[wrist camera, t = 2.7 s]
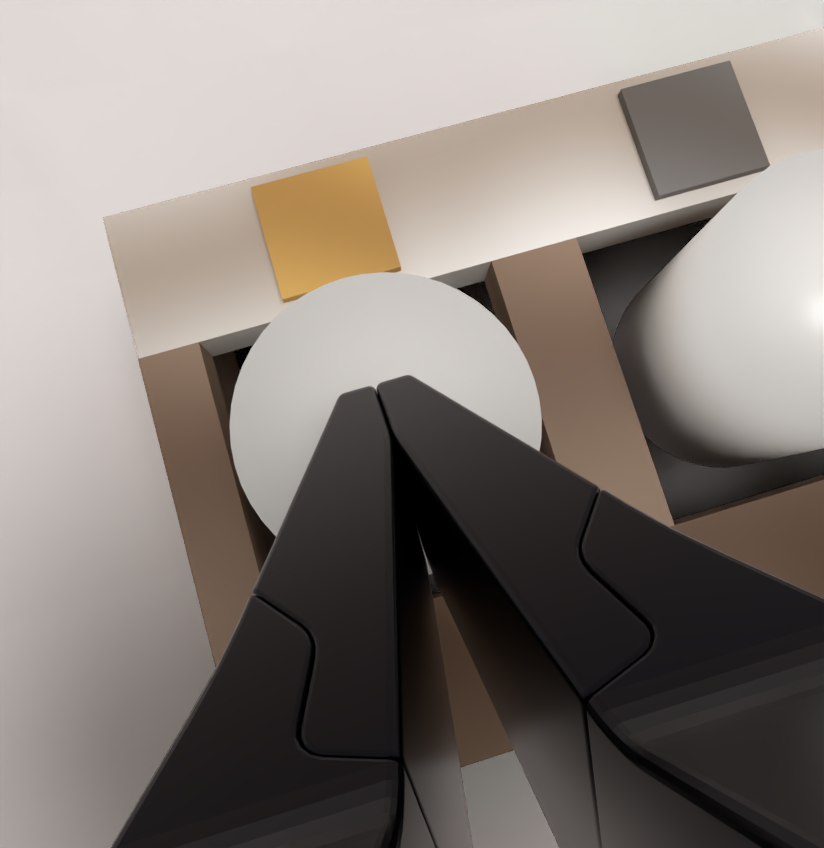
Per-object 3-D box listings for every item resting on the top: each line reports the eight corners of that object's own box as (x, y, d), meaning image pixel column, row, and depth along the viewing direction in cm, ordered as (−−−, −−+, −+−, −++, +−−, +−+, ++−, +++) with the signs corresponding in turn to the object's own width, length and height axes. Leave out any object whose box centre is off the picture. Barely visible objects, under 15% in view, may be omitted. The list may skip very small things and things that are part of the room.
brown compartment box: (1066, 484, 20) (1447, 453, 13) (308, 722, 18) (255, 838, 11) (919, 133, 21) (1189, -76, 14) (203, 330, 20) (97, 212, 13)
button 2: (522, 531, 14) (583, 528, 10) (312, 595, 14) (276, 620, 9) (459, 329, 15) (488, 238, 10) (256, 386, 14) (195, 319, 10)
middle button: (849, 433, 15) (1049, 387, 10) (651, 493, 14) (768, 472, 10) (776, 240, 15) (936, 116, 11) (584, 294, 15) (665, 190, 10)
